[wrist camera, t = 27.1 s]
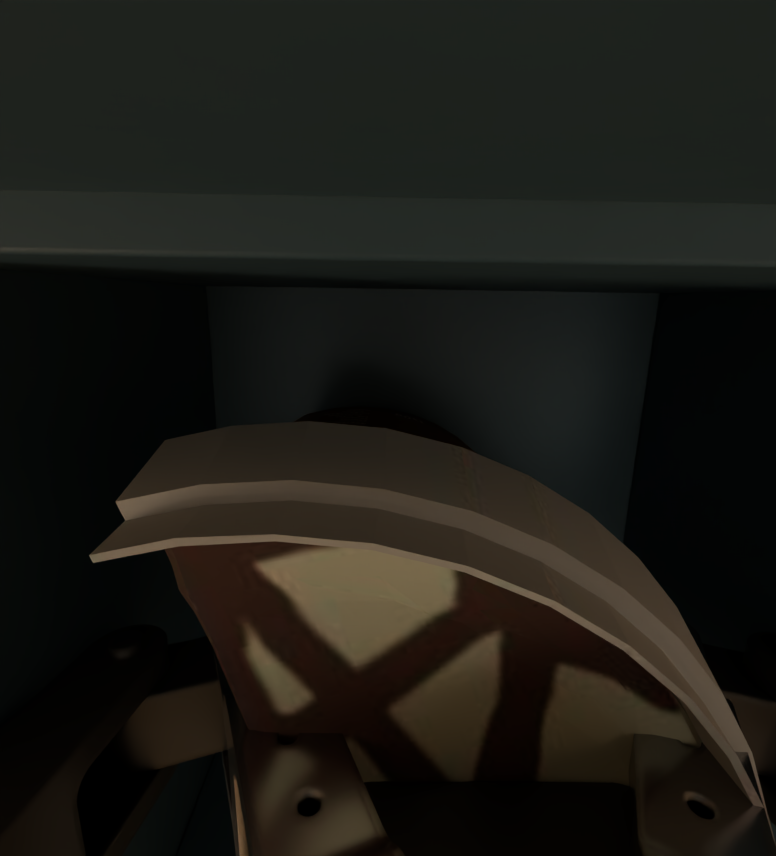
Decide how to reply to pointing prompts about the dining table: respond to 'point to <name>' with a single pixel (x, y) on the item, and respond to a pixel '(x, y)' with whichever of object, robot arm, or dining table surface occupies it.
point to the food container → (421, 603)
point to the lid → (392, 98)
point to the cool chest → (377, 389)
